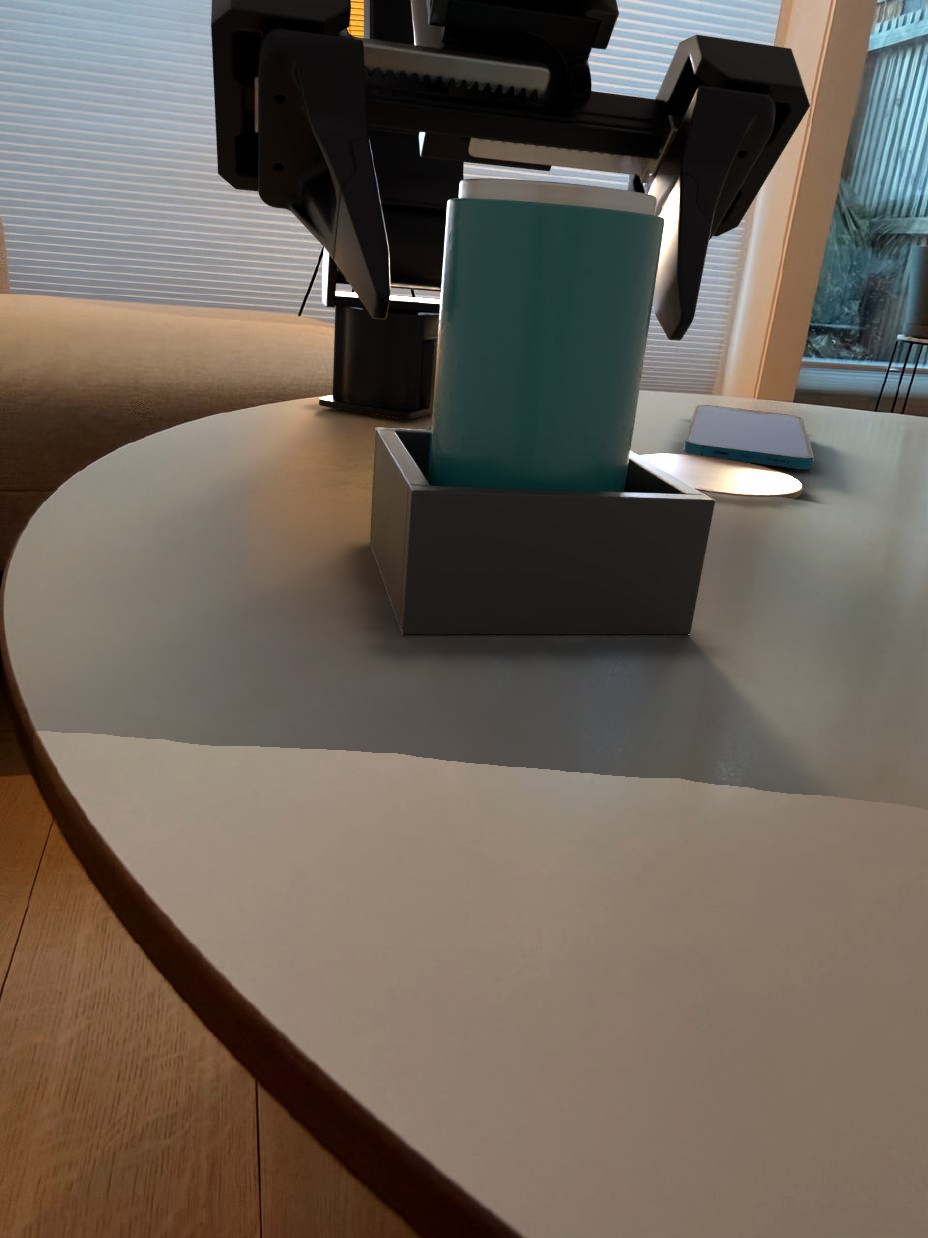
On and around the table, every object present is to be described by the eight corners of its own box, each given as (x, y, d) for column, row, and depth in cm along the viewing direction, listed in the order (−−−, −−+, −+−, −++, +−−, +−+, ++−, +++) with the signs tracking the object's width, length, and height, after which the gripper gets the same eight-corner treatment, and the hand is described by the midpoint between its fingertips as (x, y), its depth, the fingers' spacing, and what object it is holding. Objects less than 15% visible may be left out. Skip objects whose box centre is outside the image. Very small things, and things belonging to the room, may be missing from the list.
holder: (368, 551, 33) (375, 426, 31) (594, 556, 35) (611, 437, 33) (401, 648, 25) (411, 490, 24) (688, 647, 27) (716, 500, 25)
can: (387, 590, 28) (411, 171, 24) (465, 543, 33) (496, 191, 29) (576, 635, 26) (638, 185, 22) (628, 577, 31) (687, 204, 27)
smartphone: (682, 442, 54) (696, 403, 67) (680, 458, 54) (693, 416, 68) (816, 459, 52) (802, 416, 66) (812, 476, 53) (799, 429, 66)
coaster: (605, 481, 47) (606, 473, 46) (646, 453, 54) (648, 446, 54) (792, 513, 43) (794, 505, 43) (807, 479, 51) (809, 472, 51)
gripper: (208, -396, 24) (189, 6, 18) (846, -250, 28) (1003, 118, 22) (222, 20, 34) (214, 367, 28) (692, 84, 38) (772, 400, 32)
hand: (537, 320), depth 27 cm, fingers open, 9 cm apart
